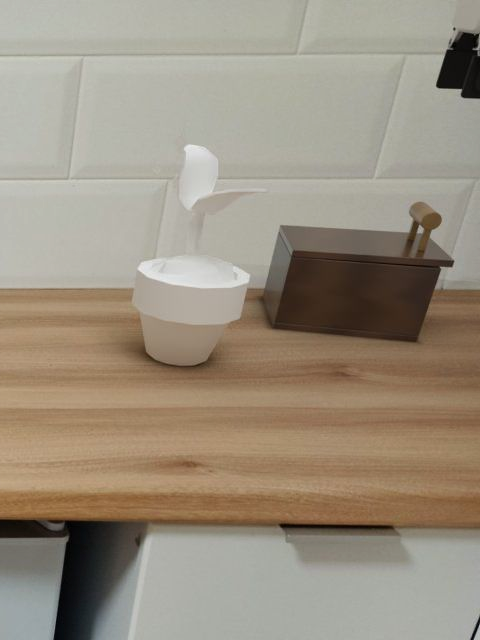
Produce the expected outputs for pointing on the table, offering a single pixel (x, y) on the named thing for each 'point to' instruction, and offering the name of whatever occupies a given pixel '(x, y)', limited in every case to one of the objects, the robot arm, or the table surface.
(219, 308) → the potted plant
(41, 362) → the table surface
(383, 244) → the lid
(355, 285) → the chest
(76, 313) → the table surface
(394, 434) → the table surface
